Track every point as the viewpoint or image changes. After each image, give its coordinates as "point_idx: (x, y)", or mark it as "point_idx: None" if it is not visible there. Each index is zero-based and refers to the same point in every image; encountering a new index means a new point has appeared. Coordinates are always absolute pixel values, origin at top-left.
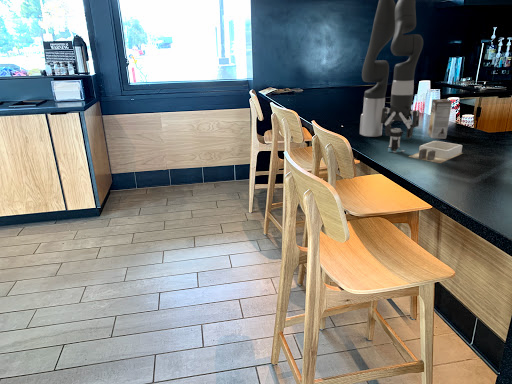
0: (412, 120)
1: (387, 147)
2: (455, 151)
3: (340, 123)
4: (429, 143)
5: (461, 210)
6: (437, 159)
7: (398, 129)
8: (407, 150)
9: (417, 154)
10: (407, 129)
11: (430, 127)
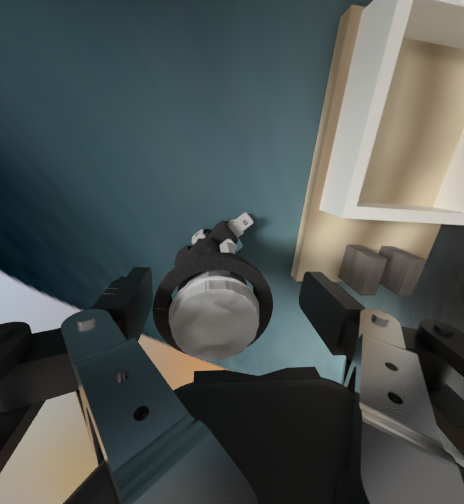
0: (454, 445)
1: (174, 264)
2: None
3: None
4: (381, 115)
5: (451, 453)
6: (405, 245)
7: (240, 327)
8: (225, 123)
9: (319, 228)
10: (334, 348)
11: None
